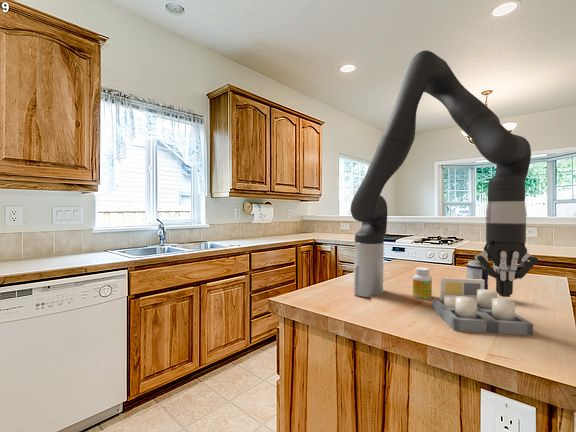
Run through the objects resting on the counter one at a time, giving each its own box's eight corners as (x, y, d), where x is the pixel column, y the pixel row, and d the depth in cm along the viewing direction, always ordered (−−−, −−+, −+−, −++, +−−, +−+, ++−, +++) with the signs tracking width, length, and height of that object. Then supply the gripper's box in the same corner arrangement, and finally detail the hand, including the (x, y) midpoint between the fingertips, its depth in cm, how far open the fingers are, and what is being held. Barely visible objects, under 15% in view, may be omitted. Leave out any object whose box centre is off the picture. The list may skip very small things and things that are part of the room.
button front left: (459, 318, 70) (459, 301, 70) (452, 311, 75) (452, 295, 75) (480, 319, 70) (480, 302, 70) (471, 313, 74) (472, 296, 74)
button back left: (447, 314, 78) (447, 299, 78) (441, 309, 83) (441, 294, 83) (465, 315, 78) (466, 300, 78) (459, 310, 82) (459, 295, 82)
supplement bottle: (423, 303, 92) (423, 271, 92) (408, 298, 97) (409, 267, 97) (435, 300, 95) (435, 269, 94) (420, 296, 99) (421, 266, 99)
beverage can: (490, 303, 92) (491, 263, 92) (470, 301, 94) (471, 262, 93) (482, 297, 98) (483, 260, 98) (463, 296, 99) (464, 259, 99)
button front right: (497, 320, 69) (497, 303, 69) (488, 313, 74) (488, 297, 73) (519, 321, 68) (519, 304, 68) (508, 315, 73) (508, 298, 73)
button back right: (481, 309, 77) (481, 293, 77) (473, 303, 81) (474, 288, 81) (500, 310, 76) (500, 294, 76) (491, 304, 81) (492, 289, 81)
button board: (453, 334, 69) (454, 295, 69) (430, 309, 87) (431, 277, 86) (532, 340, 66) (533, 299, 66) (492, 312, 84) (493, 279, 84)
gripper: (481, 221, 68) (480, 299, 68) (548, 222, 66) (547, 302, 66) (467, 220, 75) (466, 290, 76) (527, 220, 73) (526, 293, 73)
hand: (504, 296), depth 71 cm, fingers closed
